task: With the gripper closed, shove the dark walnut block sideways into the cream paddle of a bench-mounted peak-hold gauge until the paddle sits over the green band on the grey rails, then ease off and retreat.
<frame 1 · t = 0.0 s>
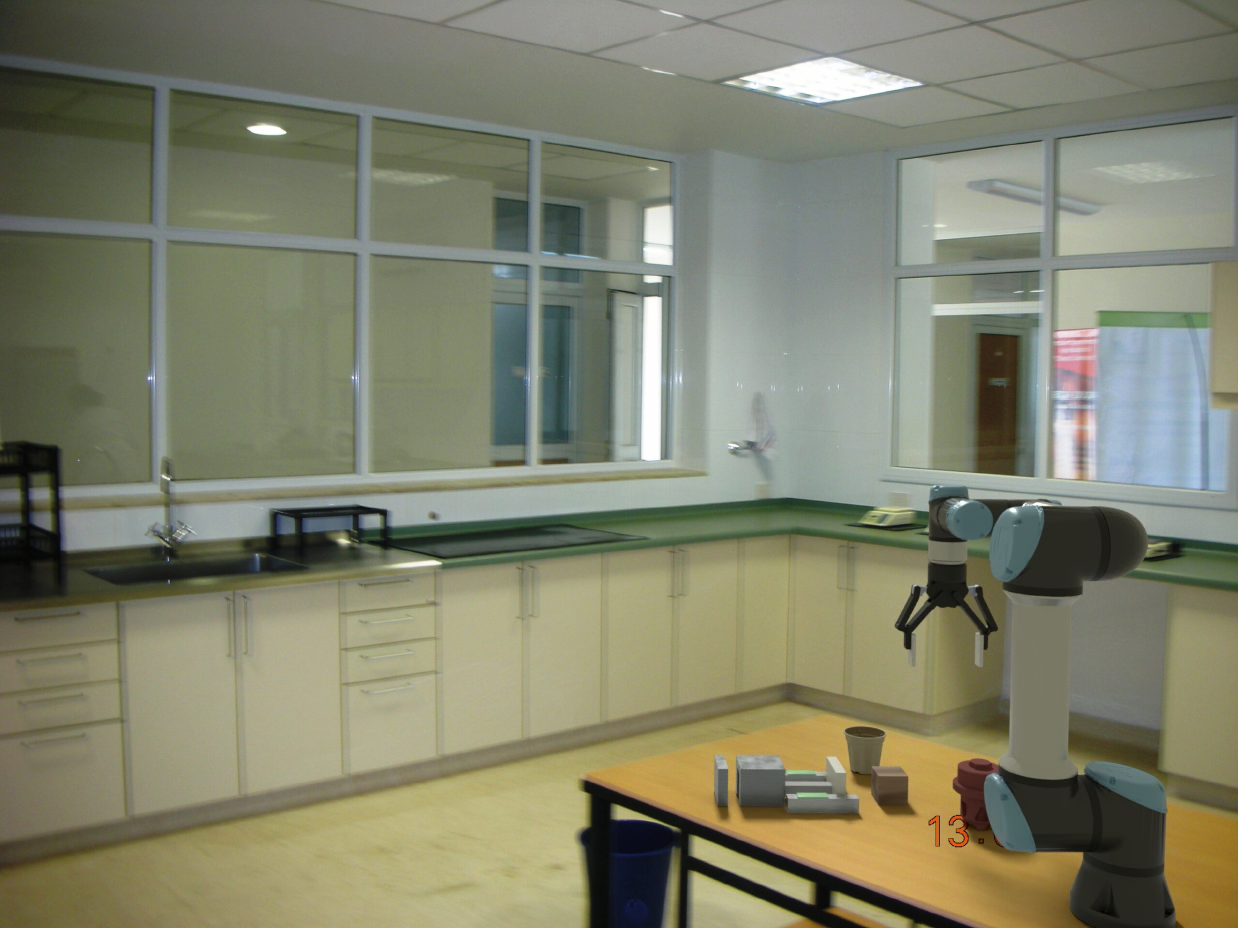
hand: (945, 665, 216), 28 cm above the table, fingers open, 13 cm apart
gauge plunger: (840, 798, 218), resting on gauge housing, slide at 0.0 cm
flower pot: (864, 770, 236), on the table
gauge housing: (840, 798, 218), on the table
mechanical component: (979, 825, 205), on the table
walnut block: (889, 799, 218), on the table
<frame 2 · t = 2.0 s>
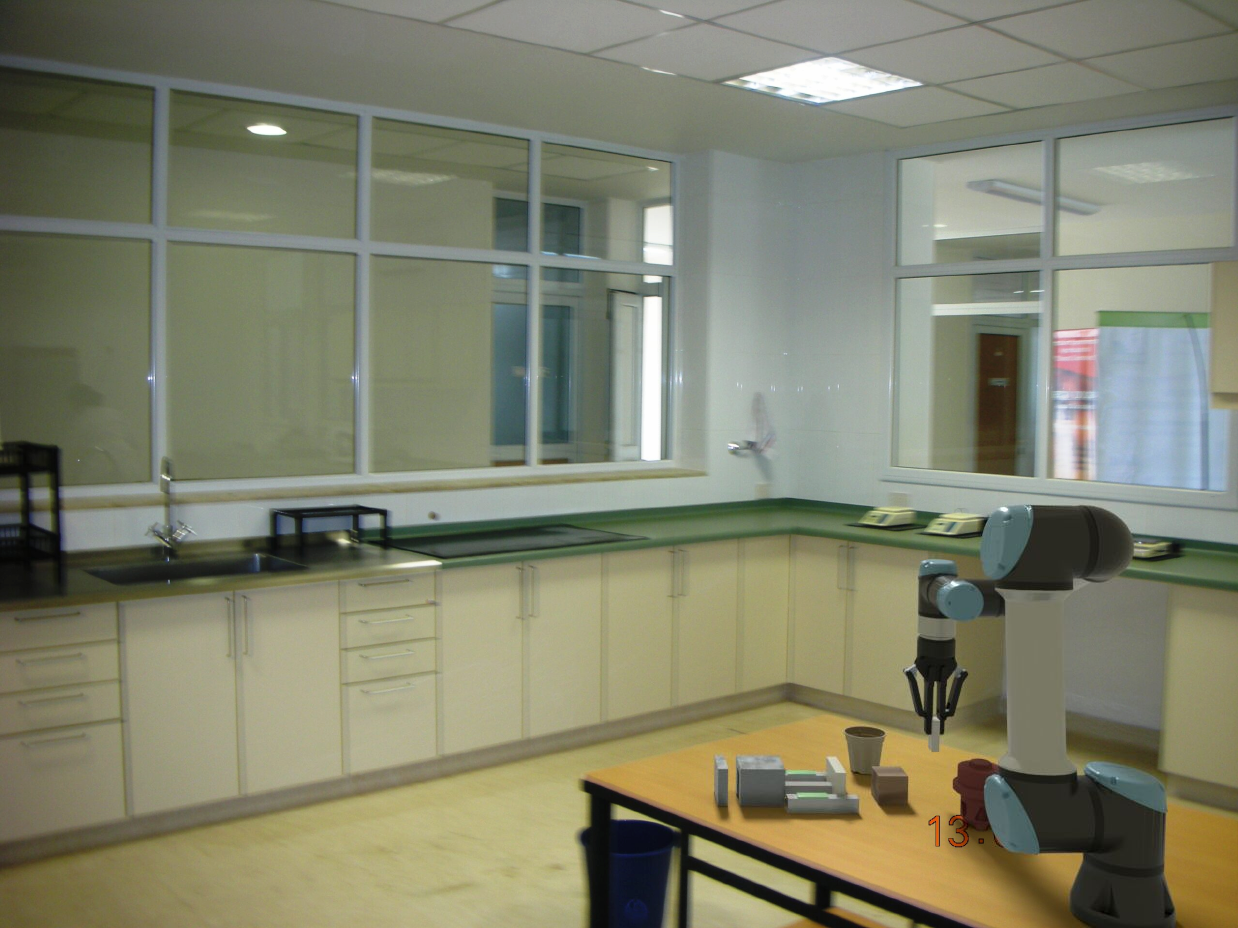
hand: (933, 749, 218), 10 cm above the table, fingers closed
nothing on the table moved.
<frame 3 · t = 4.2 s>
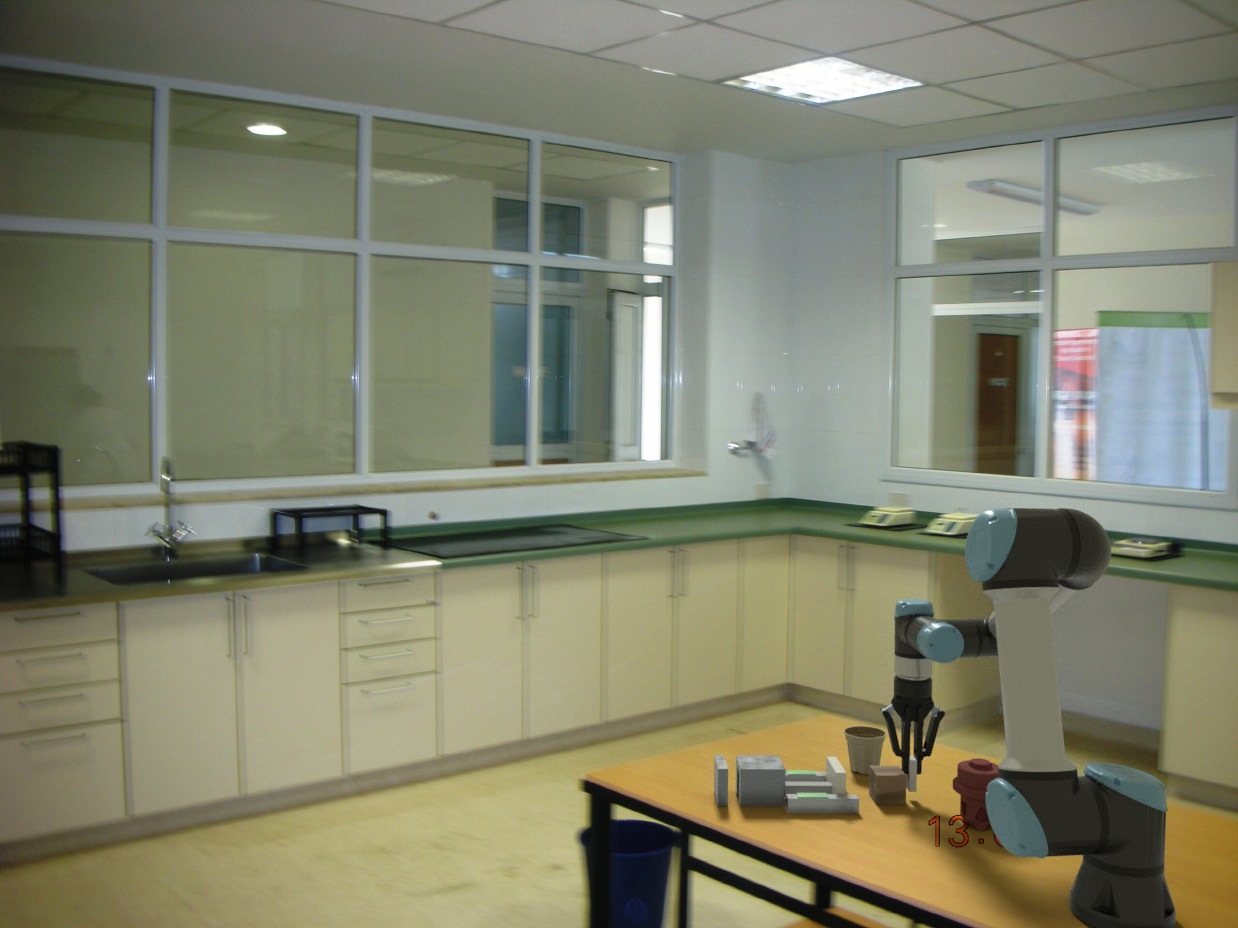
hand: (911, 789, 218), 2 cm above the table, fingers closed
walnut block: (887, 799, 218), on the table, touching gripper
everything else where it was.
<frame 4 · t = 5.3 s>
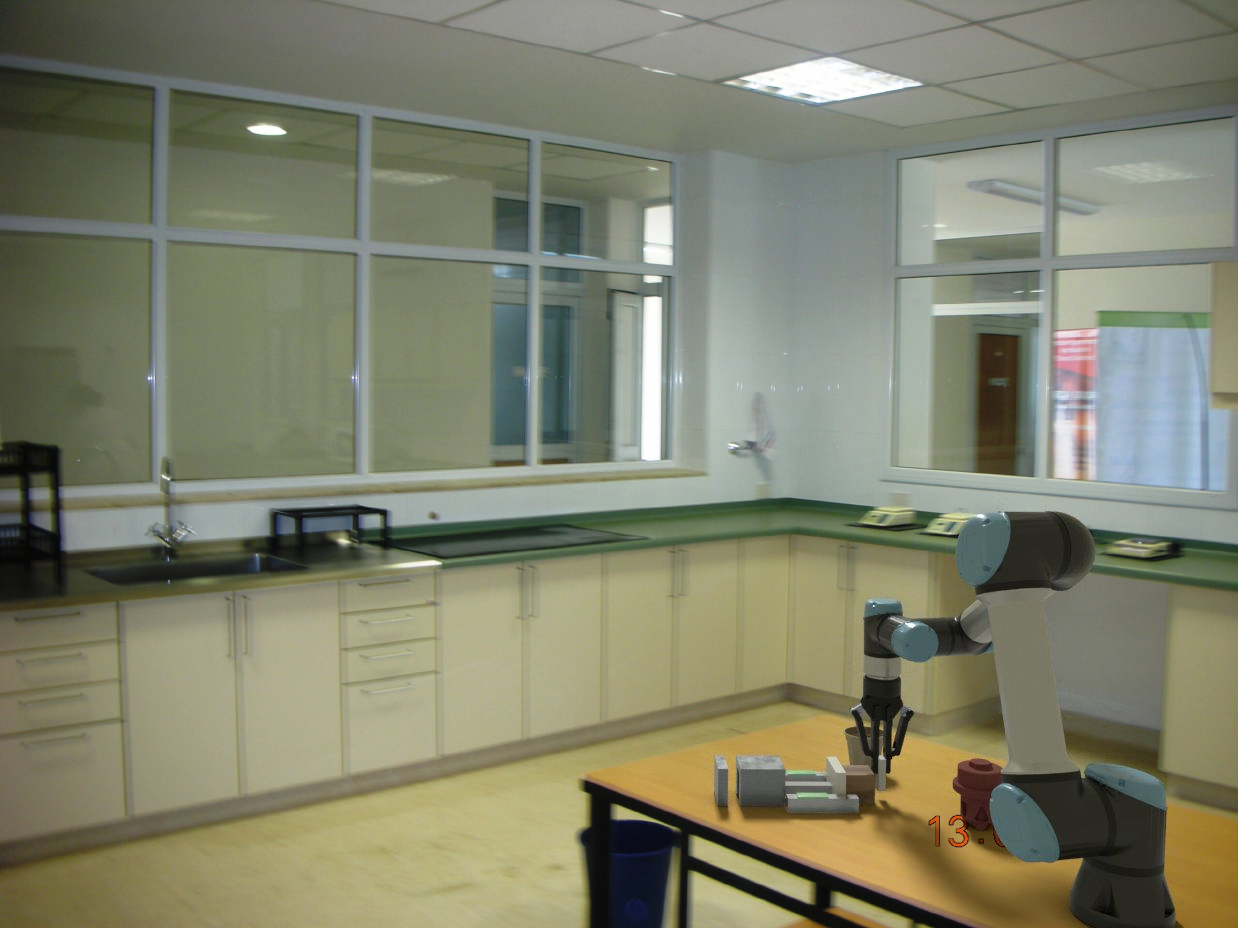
hand: (880, 788, 218), 2 cm above the table, fingers closed
walnut block: (856, 798, 218), on the table, touching gripper
everything else where it was.
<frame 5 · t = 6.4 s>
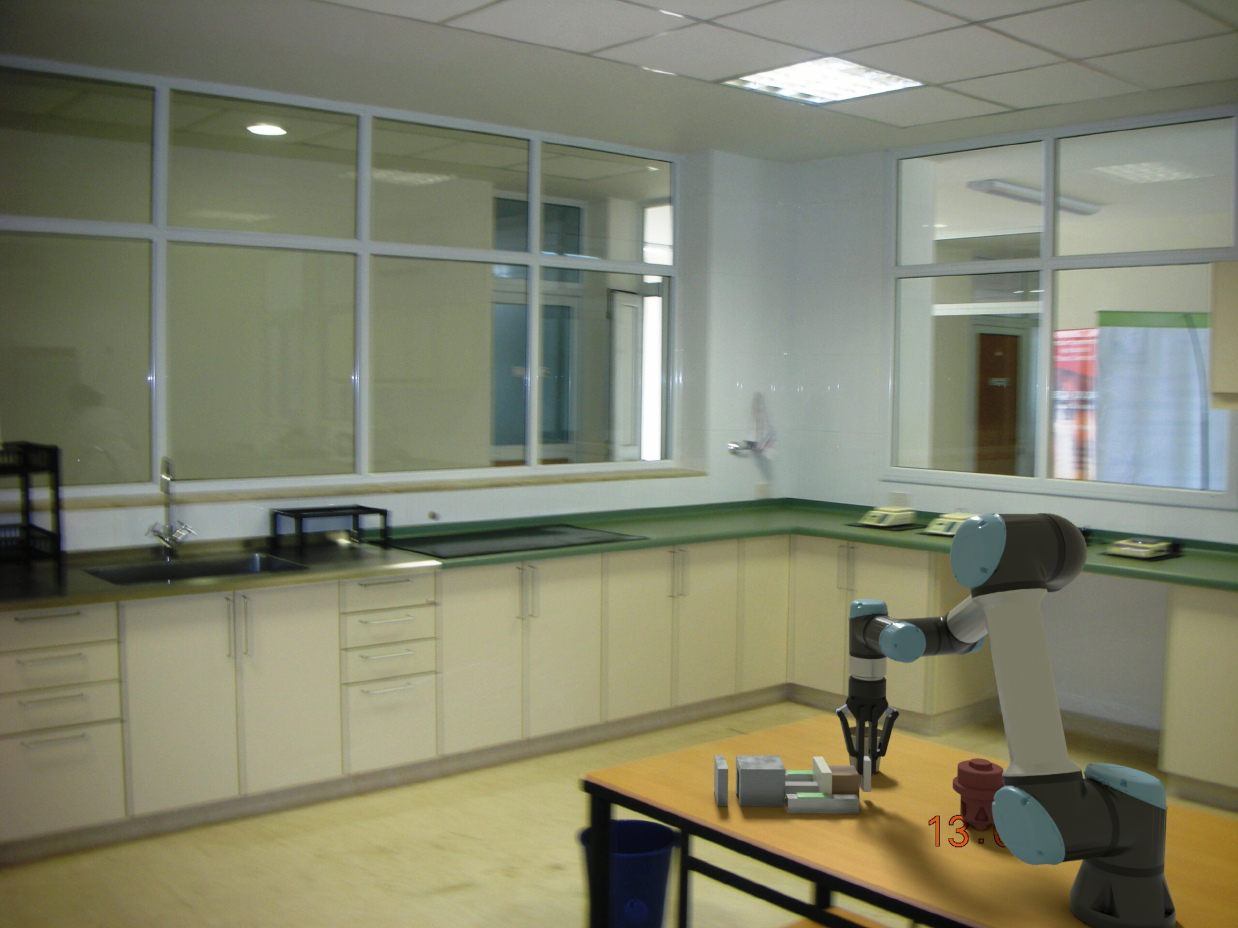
hand: (865, 789, 218), 2 cm above the table, fingers closed
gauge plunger: (826, 798, 218), resting on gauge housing, slide at 2.8 cm
walnut block: (841, 798, 218), on the table, touching gripper
everything else where it was.
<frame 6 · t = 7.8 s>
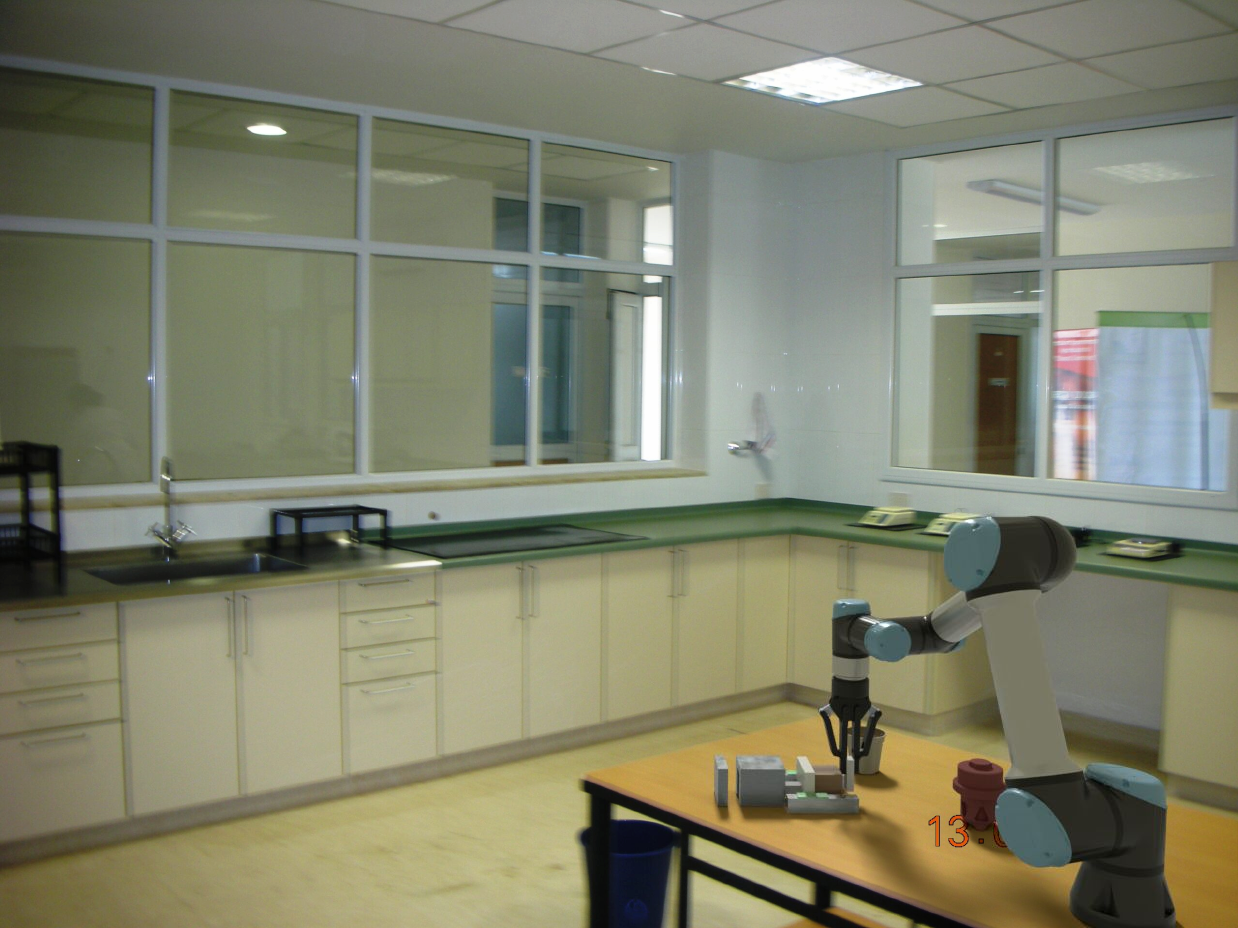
hand: (848, 789, 218), 2 cm above the table, fingers closed
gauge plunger: (809, 798, 218), resting on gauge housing, slide at 6.2 cm, touching walnut block
walnut block: (824, 798, 218), on the table, touching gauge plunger, gripper
everything else where it was.
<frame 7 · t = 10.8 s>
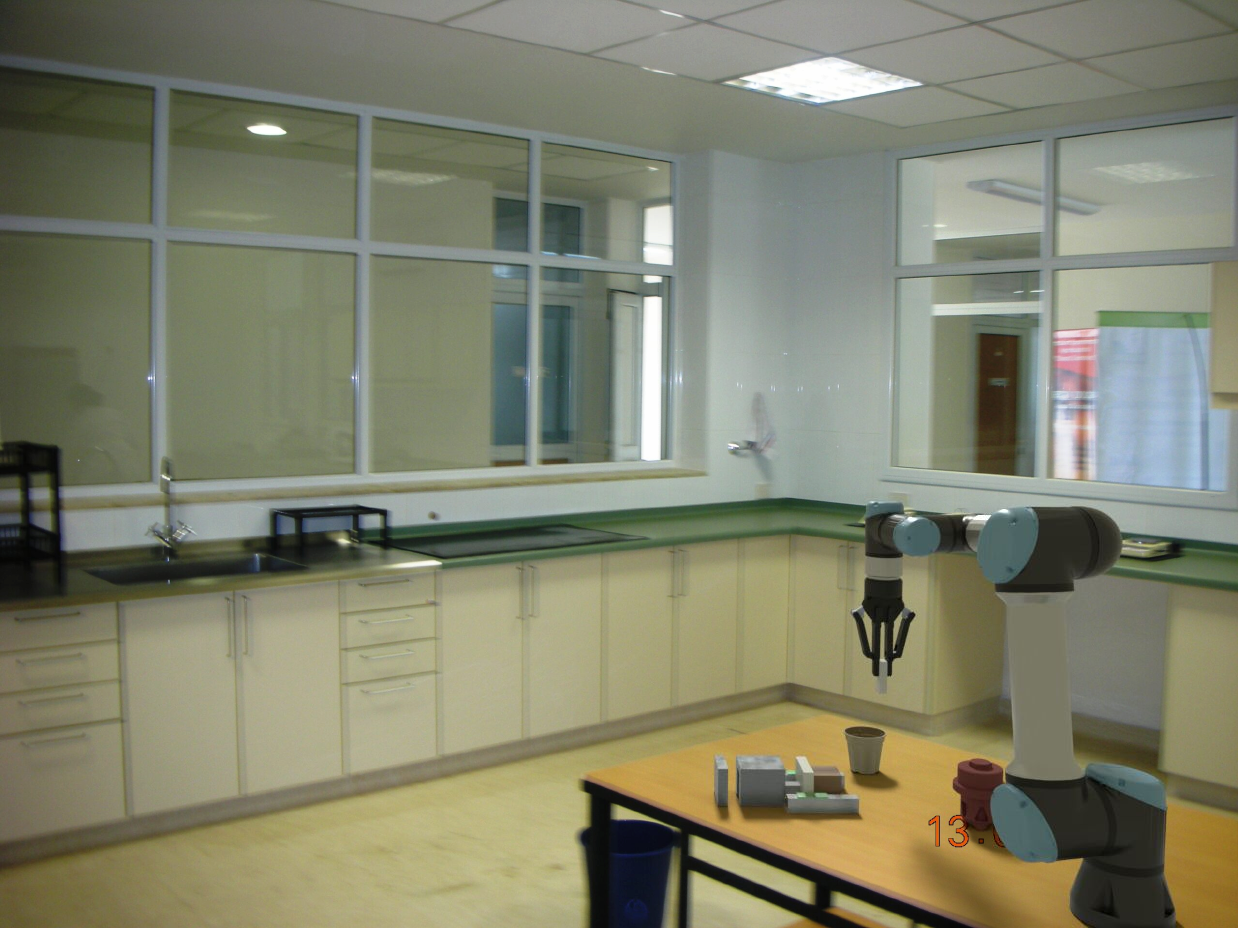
hand: (881, 691, 217), 22 cm above the table, fingers closed
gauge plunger: (808, 798, 218), resting on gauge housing, slide at 6.5 cm
walnut block: (823, 799, 218), on the table
everything else where it was.
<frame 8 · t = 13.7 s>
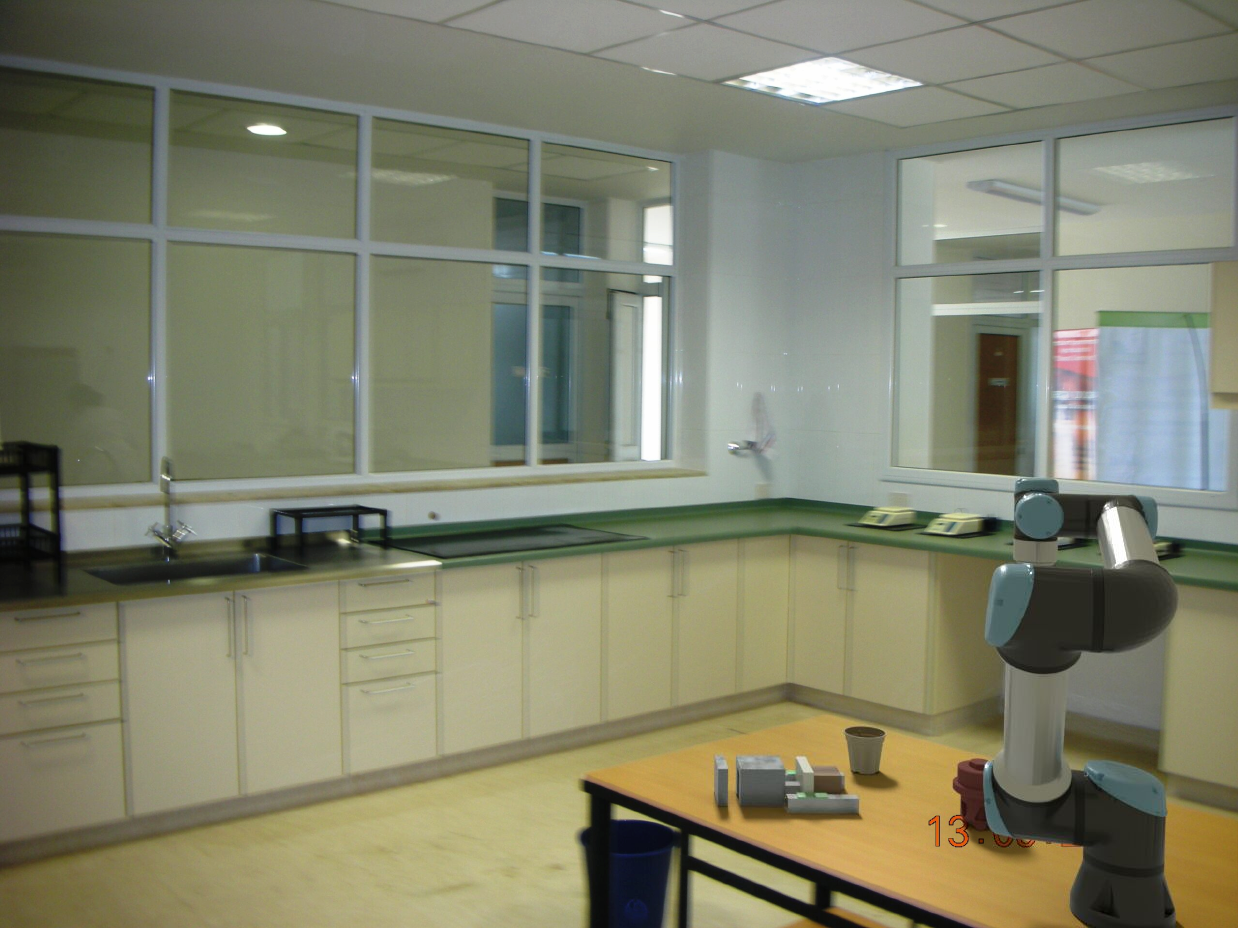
hand: (1031, 690, 194), 28 cm above the table, fingers closed
nothing on the table moved.
at the end: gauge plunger slide at 6.5 cm; walnut block inside the target area on the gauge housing (1.6 cm from its centre), point 0.0 cm above the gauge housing's base; walnut block tilted 0° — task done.
